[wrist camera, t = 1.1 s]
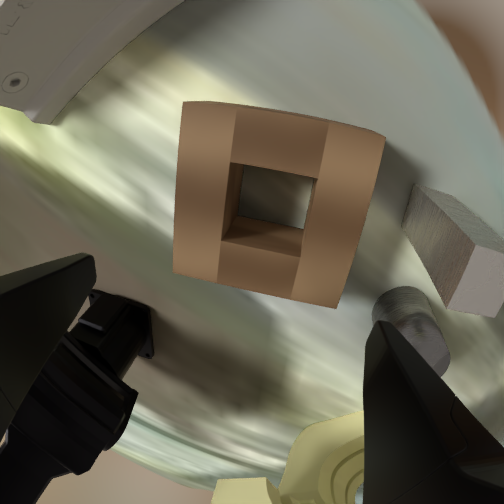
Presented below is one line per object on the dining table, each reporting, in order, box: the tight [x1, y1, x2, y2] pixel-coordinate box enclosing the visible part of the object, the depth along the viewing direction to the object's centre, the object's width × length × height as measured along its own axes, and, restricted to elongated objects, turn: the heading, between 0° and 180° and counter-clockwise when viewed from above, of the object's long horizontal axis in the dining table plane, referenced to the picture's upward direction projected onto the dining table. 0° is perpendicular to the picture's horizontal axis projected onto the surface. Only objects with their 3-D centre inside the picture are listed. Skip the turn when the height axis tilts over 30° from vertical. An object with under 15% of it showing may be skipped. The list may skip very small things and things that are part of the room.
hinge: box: [0, 0, 185, 125], centre depth 13 cm, size 17×5×10 cm, turn 121°
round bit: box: [372, 286, 450, 377], centre depth 19 cm, size 5×5×6 cm
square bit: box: [401, 184, 504, 318], centre depth 14 cm, size 3×3×9 cm
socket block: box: [173, 101, 386, 309], centre depth 18 cm, size 10×10×4 cm
